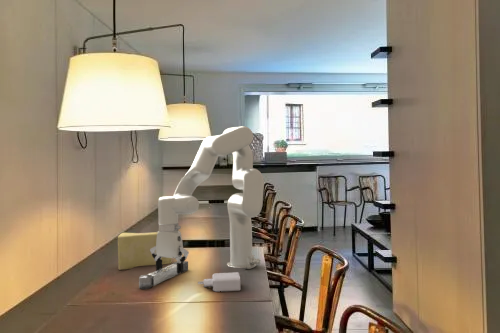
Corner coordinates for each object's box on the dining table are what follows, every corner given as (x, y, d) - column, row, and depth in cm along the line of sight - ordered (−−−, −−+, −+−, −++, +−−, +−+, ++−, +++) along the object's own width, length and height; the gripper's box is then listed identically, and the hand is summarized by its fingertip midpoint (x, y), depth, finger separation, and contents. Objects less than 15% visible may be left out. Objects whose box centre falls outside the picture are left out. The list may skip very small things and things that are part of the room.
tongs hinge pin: (154, 286, 152) (154, 275, 152) (146, 290, 148) (146, 278, 148) (144, 285, 154) (144, 274, 154) (136, 288, 150) (136, 277, 150)
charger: (198, 285, 156) (238, 283, 158) (197, 293, 147) (240, 291, 148) (197, 273, 156) (238, 271, 157) (197, 280, 147) (240, 278, 148)
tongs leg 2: (155, 285, 152) (155, 276, 152) (150, 285, 153) (150, 275, 153) (188, 270, 173) (188, 261, 173) (183, 269, 174) (183, 261, 174)
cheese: (172, 262, 190) (171, 229, 190) (170, 268, 181) (169, 233, 180) (122, 264, 188) (121, 231, 188) (117, 270, 178) (116, 235, 178)
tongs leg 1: (149, 285, 153) (149, 275, 153) (144, 284, 154) (144, 274, 154) (183, 269, 174) (183, 261, 174) (179, 269, 175) (178, 260, 175)
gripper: (192, 227, 164) (193, 271, 164) (156, 225, 171) (157, 267, 171) (182, 230, 157) (183, 276, 158) (144, 228, 164) (145, 271, 165)
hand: (169, 271), depth 165 cm, fingers open, 9 cm apart
